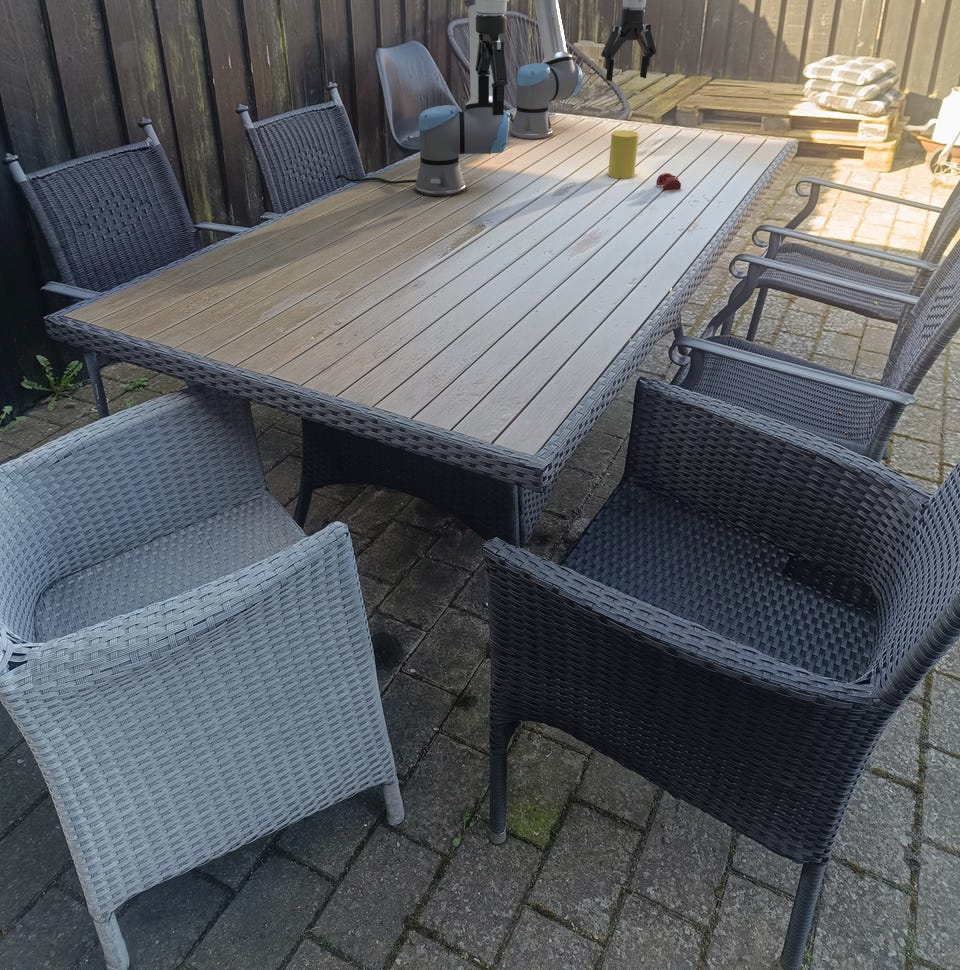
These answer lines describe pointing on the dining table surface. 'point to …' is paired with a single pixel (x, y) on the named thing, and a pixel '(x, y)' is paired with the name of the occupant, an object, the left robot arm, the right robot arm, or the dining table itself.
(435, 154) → the left robot arm
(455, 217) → the dining table surface
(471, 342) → the dining table surface
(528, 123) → the right robot arm
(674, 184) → the dental model
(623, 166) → the cylinder
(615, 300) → the dining table surface
